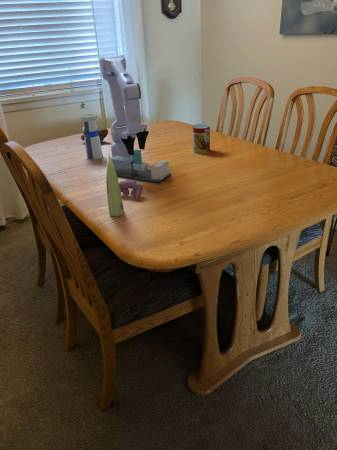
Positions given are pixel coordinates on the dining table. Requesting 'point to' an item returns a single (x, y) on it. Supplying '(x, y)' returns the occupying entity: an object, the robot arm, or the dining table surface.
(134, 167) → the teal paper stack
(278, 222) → the dining table surface
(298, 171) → the dining table surface
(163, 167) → the socket
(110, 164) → the tube
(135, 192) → the video game controller
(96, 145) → the water bottle
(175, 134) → the dining table surface
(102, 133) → the decorative turtle
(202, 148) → the canned food
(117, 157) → the grey long angular block
